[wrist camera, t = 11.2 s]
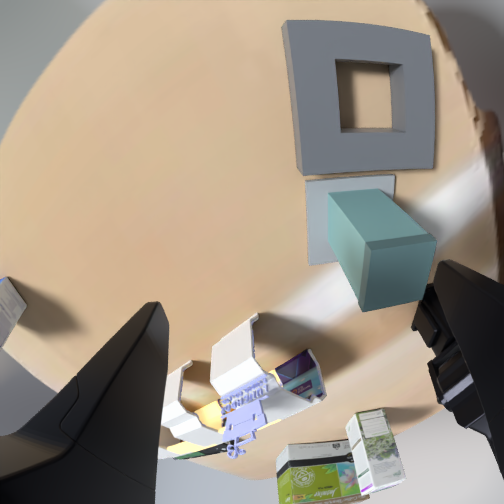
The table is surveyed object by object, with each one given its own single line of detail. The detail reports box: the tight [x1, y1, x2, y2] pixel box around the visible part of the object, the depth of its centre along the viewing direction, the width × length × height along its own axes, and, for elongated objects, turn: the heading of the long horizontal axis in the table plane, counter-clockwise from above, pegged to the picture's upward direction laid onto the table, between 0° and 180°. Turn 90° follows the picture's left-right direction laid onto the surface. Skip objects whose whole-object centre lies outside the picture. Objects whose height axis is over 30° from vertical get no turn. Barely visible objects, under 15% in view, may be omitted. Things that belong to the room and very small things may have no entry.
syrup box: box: [346, 408, 406, 496], centre depth 35 cm, size 6×6×14 cm
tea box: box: [276, 440, 370, 504], centre depth 42 cm, size 15×10×15 cm, turn 81°
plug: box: [328, 188, 437, 312], centre depth 18 cm, size 4×4×8 cm
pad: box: [305, 174, 395, 266], centre depth 22 cm, size 7×7×1 cm
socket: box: [281, 20, 435, 176], centre depth 16 cm, size 10×10×2 cm
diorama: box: [158, 313, 327, 459], centre depth 27 cm, size 25×10×13 cm, turn 135°
